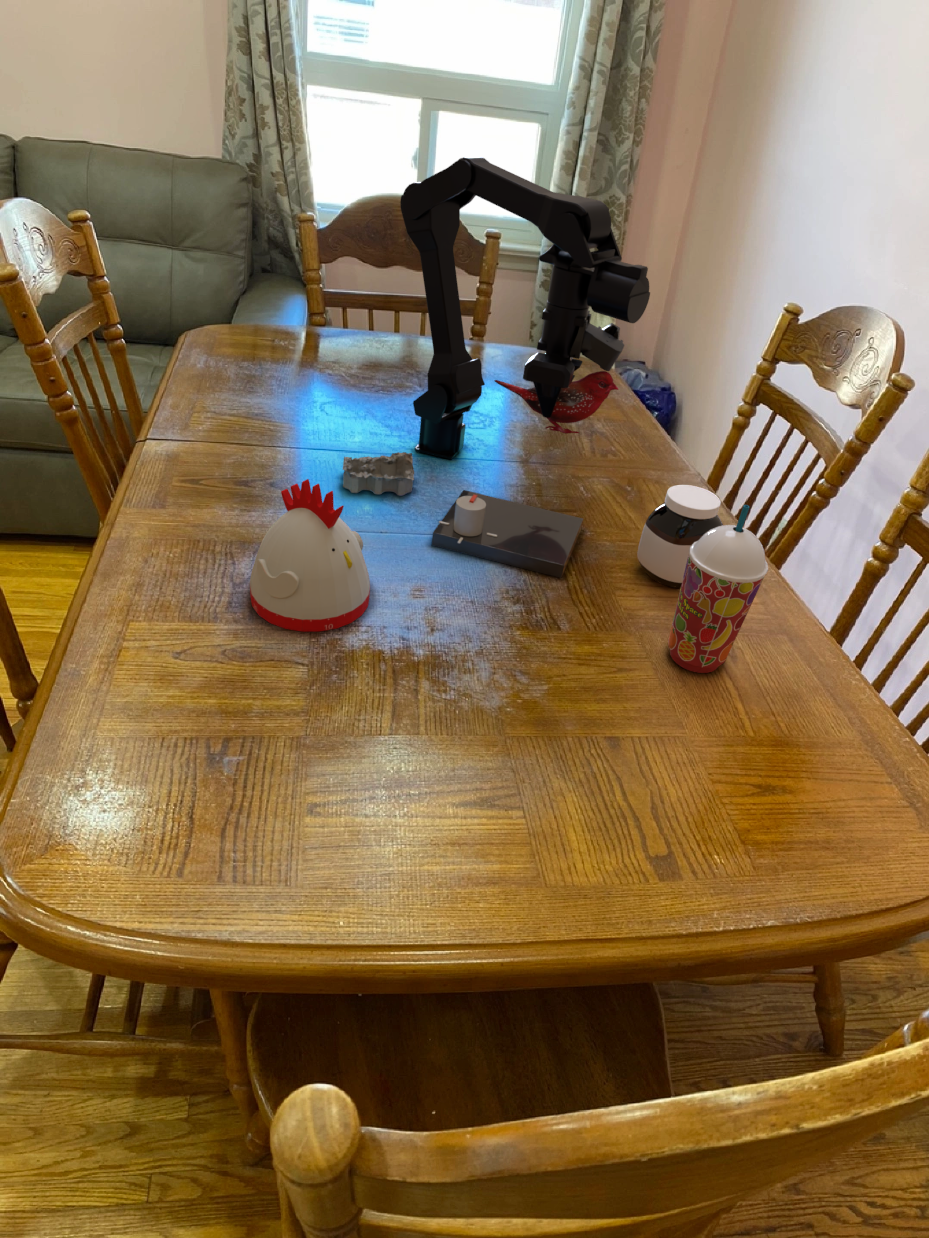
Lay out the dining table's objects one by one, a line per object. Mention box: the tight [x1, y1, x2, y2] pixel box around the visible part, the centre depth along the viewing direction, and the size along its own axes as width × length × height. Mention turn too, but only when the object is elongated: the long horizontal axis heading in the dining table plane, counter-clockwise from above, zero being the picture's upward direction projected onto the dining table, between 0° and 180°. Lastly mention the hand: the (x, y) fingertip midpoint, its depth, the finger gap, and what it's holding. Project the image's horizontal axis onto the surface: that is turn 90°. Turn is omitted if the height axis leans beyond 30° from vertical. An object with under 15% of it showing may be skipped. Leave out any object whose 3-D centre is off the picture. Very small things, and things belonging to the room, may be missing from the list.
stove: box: [431, 489, 584, 579], centre depth 113 cm, size 18×15×2 cm
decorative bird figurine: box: [494, 370, 619, 435], centre depth 118 cm, size 3×18×10 cm, turn 81°
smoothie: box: [667, 504, 769, 674], centre depth 90 cm, size 8×8×20 cm
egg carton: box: [341, 451, 415, 497], centre depth 122 cm, size 11×8×4 cm
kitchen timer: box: [249, 478, 371, 633], centre depth 93 cm, size 14×14×15 cm
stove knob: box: [453, 495, 486, 536], centre depth 110 cm, size 4×4×4 cm
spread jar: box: [636, 484, 724, 589], centre depth 109 cm, size 12×11×12 cm
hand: (548, 413), depth 120 cm, fingers closed on decorative bird figurine, 3 cm apart
